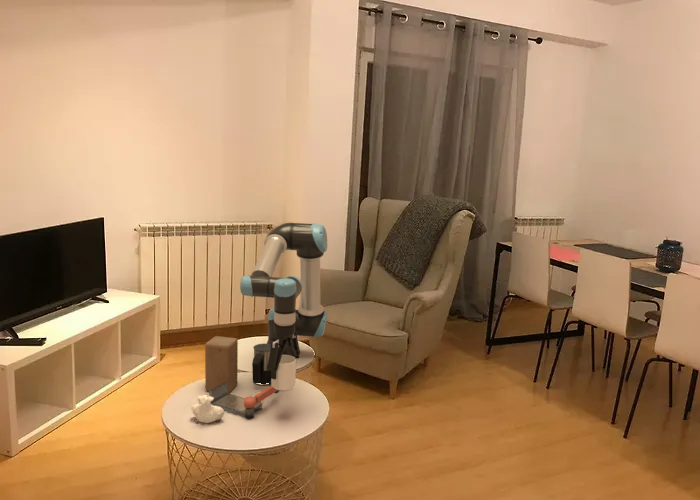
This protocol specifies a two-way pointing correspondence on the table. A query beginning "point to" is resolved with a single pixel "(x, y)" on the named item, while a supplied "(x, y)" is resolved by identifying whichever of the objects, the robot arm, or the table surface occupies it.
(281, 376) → the mug
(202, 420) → the bust
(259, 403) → the lever
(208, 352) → the wooden block
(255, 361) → the milk frother
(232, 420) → the table surface
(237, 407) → the metal tray
